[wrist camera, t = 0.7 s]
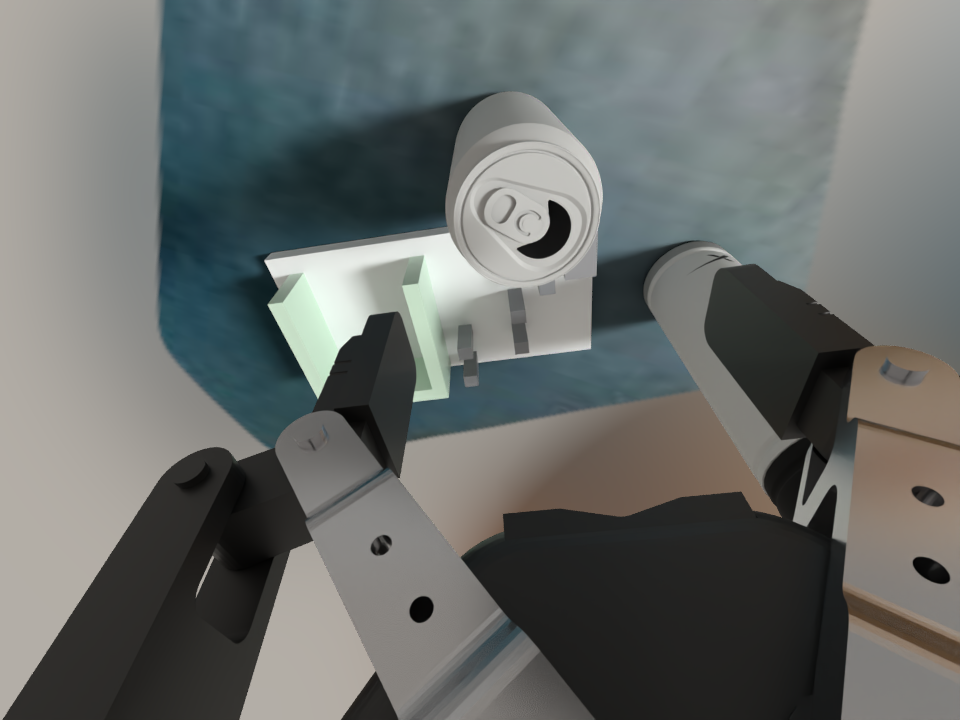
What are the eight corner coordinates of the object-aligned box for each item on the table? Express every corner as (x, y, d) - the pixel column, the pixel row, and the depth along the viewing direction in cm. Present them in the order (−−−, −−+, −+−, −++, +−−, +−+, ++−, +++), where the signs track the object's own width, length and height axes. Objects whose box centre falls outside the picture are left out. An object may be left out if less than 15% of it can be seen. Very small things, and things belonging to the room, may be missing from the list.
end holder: (289, 274, 29) (267, 304, 26) (424, 255, 28) (418, 283, 25) (338, 377, 35) (325, 412, 32) (450, 363, 34) (448, 397, 31)
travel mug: (694, 218, 28) (973, 458, 12) (747, 273, 31) (1033, 529, 15) (621, 284, 31) (772, 545, 15) (675, 329, 34) (851, 591, 18)
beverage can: (522, 222, 28) (547, 320, 19) (436, 172, 26) (415, 253, 17) (582, 129, 25) (649, 192, 15) (488, 63, 23) (499, 88, 13)
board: (270, 253, 29) (245, 281, 26) (589, 205, 27) (605, 229, 24) (329, 372, 36) (314, 406, 33) (587, 340, 34) (599, 373, 31)
